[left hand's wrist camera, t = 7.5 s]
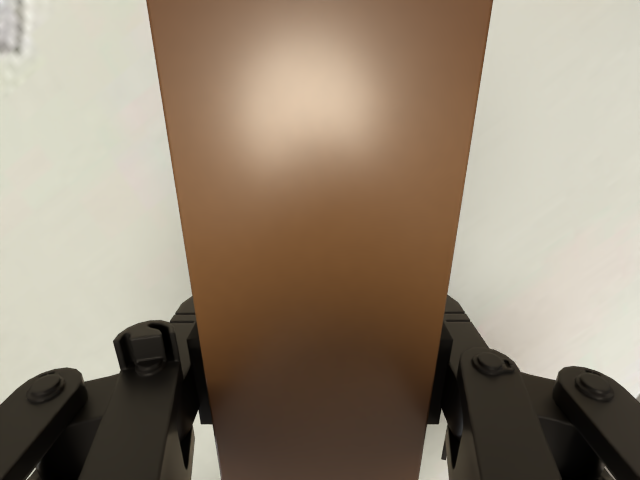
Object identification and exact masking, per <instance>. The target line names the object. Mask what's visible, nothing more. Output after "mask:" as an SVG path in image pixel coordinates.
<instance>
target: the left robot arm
mask: <svg viewBox="0 0 640 480" xmlns="http://www.w3.org/2000/svg"><path fill="white" fill-rule="evenodd" d="M113 343H114V347H115V351H116V354H117V358H118V362H119V365H120V369H121V371H120V373H119V374H116V375H112V376H108V377H104V378H99V379H95V380H90V381H86V382H84V380H83V377H82V374H81V373H80V372H79V371H78V370H77V369H73V368H59V369H53V370H50V371H47V372H44V373H41V374H39V375H37V376H35V377H34V378H32V379H30V380H28V381H27V382H25V383H24V384H23V385H21V386H20V387H19V388H17V389H16V390H15V391H14V392H13V393H12V394H11V395H10V396H9V397H8V398H7V399H6V400H5V401H4V402H3V403H2V404H1V405H0V480H26V479H27V477H28V476H29V475H30V474H31V472H32V471H33V470H34V468H36V470H35V471H34V472H33V474H32V475H31V476H30V477H29V478H28V479H27V480H191V474H192V463H193V453H194V442H195V436H194V430H193V425H192V424H193V422H194V419H195V417H196V414H197V412H198V410H199V415H200V421H201V424H213V423H212V417H211V410H210V404H209V398H208V391H207V385H206V379H205V372H204V366H203V359H202V353H201V347H200V340H199V334H198V327H197V321H196V315H195V308H194V302H193V296H192V297H190V298H189V299H187V300H186V301H185V302H183V303H182V304H181V306H180V307H179V309H178V310H177V311H176V313H175V315H174V316H173V317H172V319H171V320H170V323H169V322H166V321H162V320H150V321H146V322H141V323H138V324H135V325H133V326H131V327H128V328H127V329H125V330H124V331H122V332H121V333H119V334H118V335H117V337H116V338H115V339H114V341H113ZM441 408H442V410H443V413H444V416H445V418H446V421H447V423H448V425H447V430H446V435H445V441H444V446H443V451H442V458H441V459H442V460H446V457H447V463H448V473H449V480H614V479H613V478H612V477H611V476H610V475H609V473H608V472H607V471H606V469H605V468H604V467H605V466H606V467H607V469H608V470H609V471H610V473H611V474H612V475H613V476H614V478H615V479H616V480H640V403H639V402H638V401H637V400H636V399H635V398H634V397H633V396H632V395H631V394H630V393H629V392H628V391H627V390H626V389H625V388H624V387H622V386H621V385H620V384H618V383H617V382H616V381H615V380H613V379H612V378H610V377H608V376H606V375H604V374H602V373H600V372H598V371H595V370H592V369H588V368H585V367H577V366H571V367H564V368H563V369H562V370H560V371H559V373H558V376H557V379H556V380H552V379H547V378H543V377H538V376H534V375H529V374H526V373H522V372H520V370H519V368H518V367H517V365H516V364H515V362H514V361H512V360H511V359H510V358H509V357H507V356H506V355H504V354H502V353H500V352H498V351H496V350H493V349H489V347H488V346H487V344H486V343H485V341H484V340H483V338H482V337H481V336H480V334H479V333H478V331H477V330H476V328H475V327H474V325H473V324H472V322H470V319H469V318H468V316H467V315H466V314H465V312H464V310H463V309H462V307H461V306H460V304H459V303H458V302H457V301H456V300H454V299H453V298H451V297H450V296H448V295H447V299H446V305H445V312H444V318H443V324H442V331H441V337H440V344H439V350H438V356H437V363H436V369H435V376H434V382H433V388H432V395H431V401H430V408H429V414H428V421H427V424H439V420H440V414H441Z"/></svg>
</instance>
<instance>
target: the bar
mask: <svg viewBox="0 0 640 480" xmlns="http://www.w3.org/2000/svg"><path fill="white" fill-rule="evenodd" d="M146 1H147V8H148V14H149V21H150V27H151V33H152V40H153V46H154V53H155V59H156V65H157V72H158V78H159V84H160V91H161V97H162V104H163V110H164V116H165V123H166V129H167V136H168V142H169V148H170V155H171V161H172V168H173V174H174V180H175V187H176V193H177V200H178V206H179V212H180V219H181V225H182V231H183V238H184V244H185V251H186V257H187V263H188V270H189V276H190V283H191V289H192V295H193V302H194V308H195V315H196V321H197V327H198V334H199V340H200V347H201V353H202V359H203V366H204V372H205V379H206V385H207V391H208V398H209V404H210V410H211V417H212V423H213V430H214V436H215V442H216V449H217V455H218V462H219V468H220V474H221V480H418V478H419V472H420V465H421V459H422V453H423V446H424V440H425V433H426V427H427V421H428V414H429V408H430V401H431V395H432V388H433V382H434V376H435V369H436V363H437V356H438V350H439V344H440V337H441V331H442V324H443V318H444V312H445V305H446V299H447V292H448V286H449V279H450V273H451V267H452V260H453V254H454V247H455V241H456V235H457V228H458V222H459V215H460V209H461V203H462V196H463V190H464V183H465V177H466V170H467V164H468V158H469V151H470V145H471V138H472V132H473V126H474V119H475V113H476V106H477V100H478V94H479V87H480V81H481V74H482V68H483V61H484V55H485V49H486V42H487V36H488V29H489V23H490V17H491V10H492V4H493V0H146Z"/></svg>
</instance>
